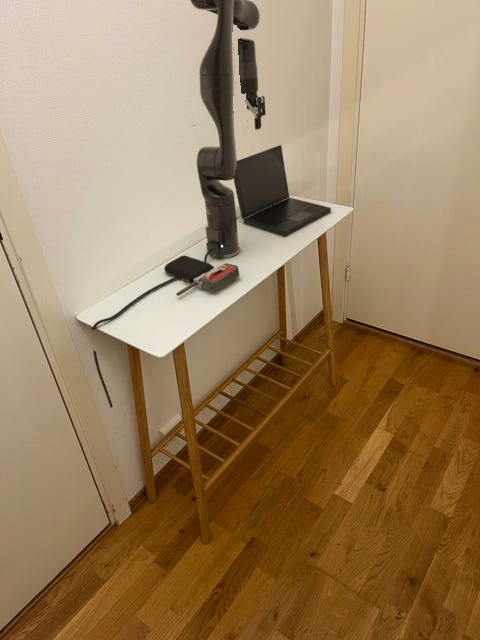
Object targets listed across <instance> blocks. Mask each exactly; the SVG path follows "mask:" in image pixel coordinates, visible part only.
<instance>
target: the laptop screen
mask: <svg viewBox="0 0 480 640" xmlns="http://www.w3.org/2000/svg"><path fill="white" fill-rule="evenodd" d="M232 180H233V183H234V188H235V194H236V198H237V203H238V207H239V212H240V217H241V219H242V220H244V219H245V218H247V217H249V216H251V215H253V214H255V213H257V212H260V211H262V210H264V209H266V208H268V207H270V206H272V205H275V204H277V203H279V202H281V201H283V200H285V199H287V198H290V193H289V187H288V180H287V174H286V167H285V160H284V155H283V147H282V144H278V145H276V146H273V147H270V148H268V149H266V150H263V151H259V152H257V153H254V154H252V155H248V156H246V157H243V158H240V159H237V168H236V173H235V176H234V178H233V179H232Z"/></svg>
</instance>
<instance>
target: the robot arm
mask: <svg viewBox="0 0 480 640" xmlns="http://www.w3.org/2000/svg"><path fill="white" fill-rule="evenodd" d="M189 1H190V3H191V4H192V6H193V7H194V8H195V9H196V10H200V11H207V12H209V13H211V14H214V15H217V19H216V26H215V30H214V33H213V36H212V38H211V40H210V42H209V45H208V47H207V49H206V51H205V52H204V55H203V57H202V59H201V61H200V65H199V68H198V69H199V70H198V75H199V77H198V78H199V95H200V98H201V100H202V104H203V105H204V107H205V109H206V111H207V112H208V114H209V116H210V118H211V120H212V121H213V123H214V125H215V128H216V132H217V136H218V142H219V144H218V145H219V146H202V147H201V148H199V150H198V152H197V155H196V170H197V176H198V181H199V186H200V192H201V195H202V198H203V200H204V208H205V215H206V223H207V226H206V227H205V233H206V241H207V242H206V243H205V244H206V250H207V251H206V253H205V255H204V260H203V262H206V263H207V260H208V256H209V255H210V256H213V257H215V258H216V259H217V258H218V259H220V260H223V259H226V258H232V257H234V256H236V255H238V254H239V253H240V249H241V248H240V241H239V232H238V223H237V222H238V221H237V212H236V211H237V209H236V200H235V193H234V191H233V190H232V189H231V188H230V187H228V186H226V185H225V184H223V183H222V182H221V181H225V182H226V181H227V182H228V181H232V180H234V179H233V178H234V176H235V173H236V168H237V160H238V157H237V146H236V145H237V144H236V134H235V117H234V115H235V114H234V111H233V96H234V95H235V94H234V93H235V92H234V86H235V85H234V84H235V83H234V81H235V76H234V48H233V43H232V32H233V24H234V25H237V27H238V28H239V29H240V30H243V31H252V30H254V29H256V28H257V27H258V26H259V23H260V17H261V16H260V10H259V8H258V6H257V4H256V3H255V2H253V1H251V0H189ZM238 55H239V75H240V83H241V84H240V85H241V93H242V94H245V93H246V100H245V102H246V104H247V109H246V110H248V111H250V113H252V115H253V117H254V118H253V119H254V130H257V131H258V130H260V129H261V128H262V117H263V116H264V117H265V116H266V115H267V114H266V99H265V98H266V97H265V96H263V95H262V96H258V91H259V79H258V66H257V65H258V64H257V54H256V43H255V41H254V40H253V39H251V38H245V37H243V38H240V39H238ZM177 279H180V278H179V277H176V276H174V277H172V278H169V279H168V280H166V281H164V282H162V283H159V284H158V285H155V286H154V287H152V288H150V289H148V290H147V291H145V292H144V293H142V294H141V295H138V296H137V297H136V298H134V299H133V300H132V301H130V302H129V303H127V304H126V305H125V306H124V307H123V308H122V309H120V310H119V311H118V312H116V313H115V314H113V315H111V316H109V317H107V318H102V319H100V320H98V321H97V322H95V323H94V324H93V325H92V327H91V331H94V330H95V329H96V328H97V327H98V325H99V324H102V323H105V322H109V321H111V320H113V319H115V318H117V317H118V316H120V315H121V314H123V312H125V311H126V310H127V309H128V308H129V307H131V306H132V305H134V304H135V303H136V302H138V301H139V300H140V299H142V298H143V297H145V296H146V295H148V294H150V293H151V292H153V291H155V290H156V289H159V288H161V287H163V286H165V285H167V284H169V283H171V282H173V281H176V280H177ZM92 354H93V359H94V363H95V367H96V371H97V373H98V377H99V379H100V382H101V385H102V387H103V390H104V393H105V396H106V399H107V401H108V404H109V407H110V409H112V408H113V403H112V399H111V397H110V394H109V391H108V388H107V386H106V383H105V380H104V378H103V374H102V372H101V368H100V365H99V360H98V359H99V358H98V354H97V351H96V350H94V349H92Z"/></svg>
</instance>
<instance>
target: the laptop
mask: <svg viewBox="0 0 480 640" xmlns="http://www.w3.org/2000/svg"><path fill="white" fill-rule="evenodd" d="M331 212H332V208H331V207H329V206H325V205H321V204H317V203H313V202H310V201H305V200H301V199H299V198H298V199H297V198H293V197H289V198H287V199H285V200H283V201H280V202H278V203H276V204H274V205H272V206H270V207H268V208H265V209H263V210H261V211H259V212H257V213H255V214H253V215H250V216H248V217H246V218H244V219H243V224H244V225H246V226H247V225H248V226H251V227H253V228H256V229H260V230H263V231H266V232H268V233H272V234H274V235H278V236H282V237H284V238H287V236H290V235H292V234H293V233H295V232H297V231H299V230H301V229H302V228H304V227H306V226H308V225H310V224H312V223H313V222H316V221H317V220H319V219H321V218H323V217H324V216H327V215H328V214H330V213H331Z"/></svg>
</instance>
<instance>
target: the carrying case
mask: <svg viewBox="0 0 480 640" xmlns="http://www.w3.org/2000/svg"><path fill="white" fill-rule="evenodd" d="M213 268H215V267H214V265H212V264H211V263H208V262H207V261H206V262H204V260H200V259H197V258H194V257H191V256H188V255H181V256H178V257H177V258H175V259H173V260H171V261H170V262H168V263H167V264H165V266H164V267H163V269H164V272H165V273H166V274H168V275H171V276H174V277H179V278H178V279H181V281H182V282H187V283H193V282H194V279H195V278H197V277H199V276H200V275H202V274H204V273H207V272H208V271H210V270H212V269H213Z"/></svg>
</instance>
